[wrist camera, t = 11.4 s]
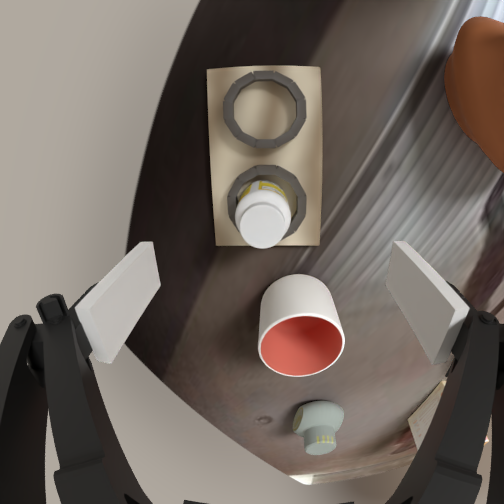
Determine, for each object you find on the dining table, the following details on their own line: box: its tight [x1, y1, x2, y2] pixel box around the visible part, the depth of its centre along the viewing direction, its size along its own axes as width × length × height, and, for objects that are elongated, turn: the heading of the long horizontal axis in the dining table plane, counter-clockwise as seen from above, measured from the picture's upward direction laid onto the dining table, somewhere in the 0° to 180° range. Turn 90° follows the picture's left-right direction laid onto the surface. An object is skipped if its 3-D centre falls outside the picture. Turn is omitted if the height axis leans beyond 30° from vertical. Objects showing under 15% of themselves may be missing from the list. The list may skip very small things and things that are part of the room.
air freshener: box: [293, 401, 344, 455], centre depth 45 cm, size 11×8×10 cm
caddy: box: [207, 66, 322, 246], centre depth 31 cm, size 13×22×2 cm, turn 2°
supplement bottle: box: [235, 180, 291, 249], centre depth 29 cm, size 5×5×10 cm
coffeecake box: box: [407, 381, 489, 450], centre depth 40 cm, size 15×7×20 cm, turn 167°
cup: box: [258, 274, 345, 377], centre depth 35 cm, size 10×10×10 cm
